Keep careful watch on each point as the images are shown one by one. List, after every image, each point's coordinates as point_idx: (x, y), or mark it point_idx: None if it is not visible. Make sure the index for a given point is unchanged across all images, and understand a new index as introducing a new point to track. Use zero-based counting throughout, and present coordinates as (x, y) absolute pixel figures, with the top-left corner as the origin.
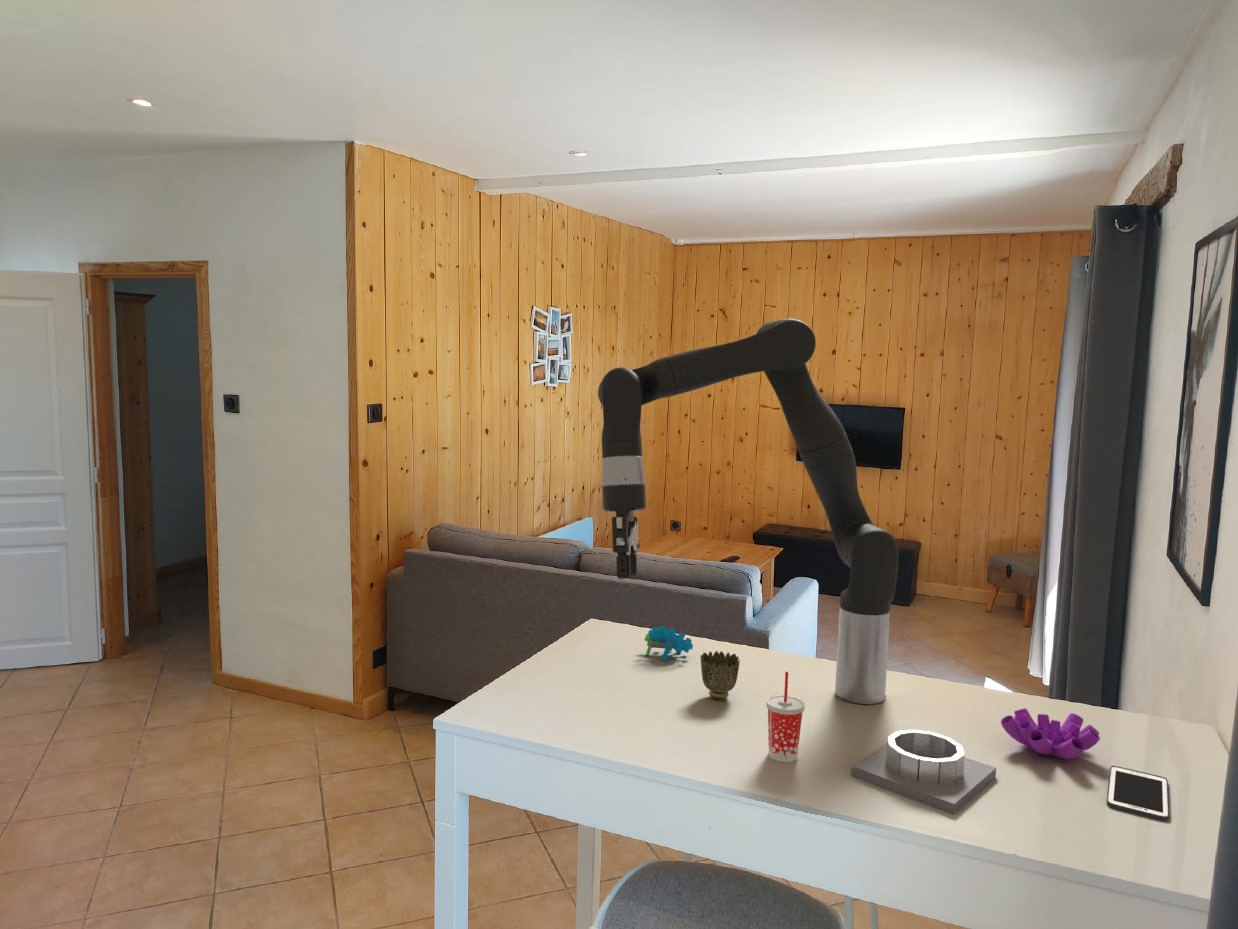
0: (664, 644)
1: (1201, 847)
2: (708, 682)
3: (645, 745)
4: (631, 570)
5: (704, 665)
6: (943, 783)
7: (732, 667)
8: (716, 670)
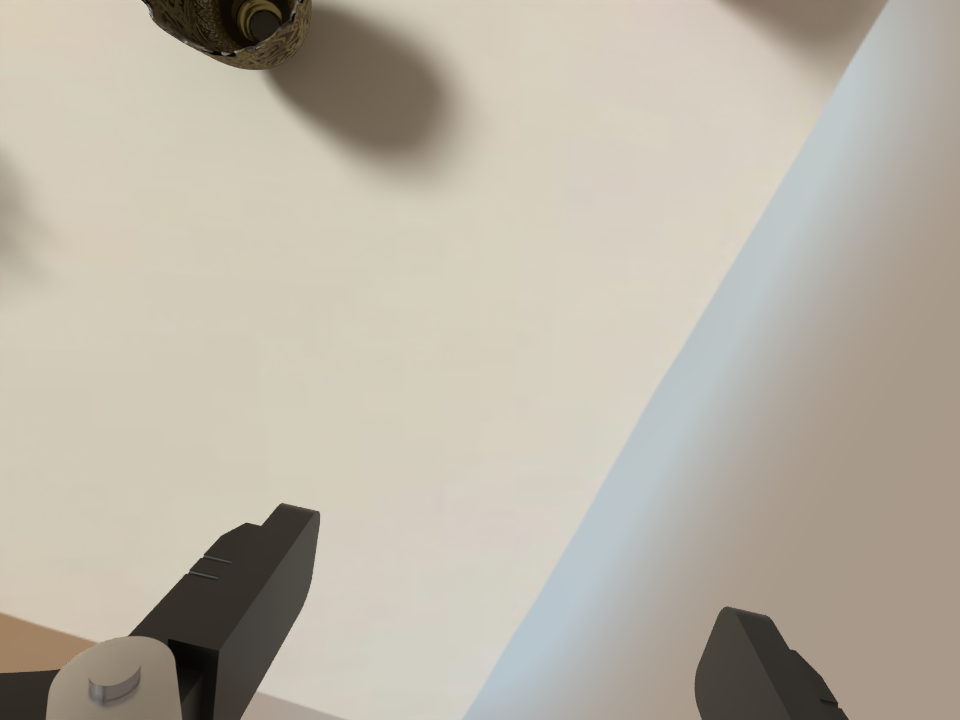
0: None
1: None
2: (292, 53)
3: (603, 301)
4: (302, 570)
5: (266, 48)
6: None
7: None
8: (303, 5)
